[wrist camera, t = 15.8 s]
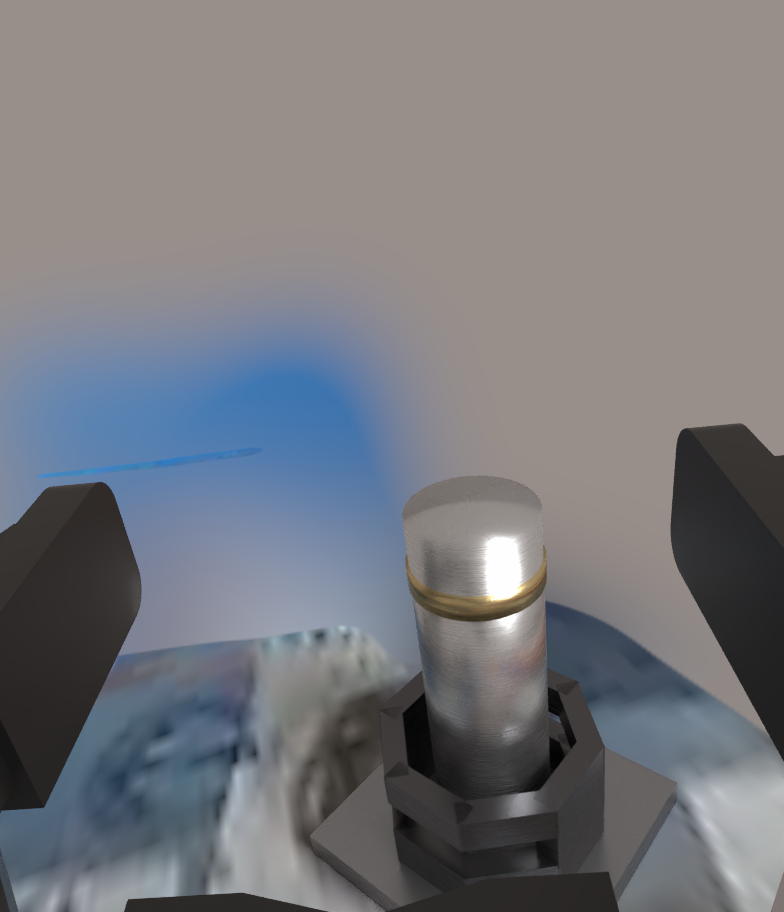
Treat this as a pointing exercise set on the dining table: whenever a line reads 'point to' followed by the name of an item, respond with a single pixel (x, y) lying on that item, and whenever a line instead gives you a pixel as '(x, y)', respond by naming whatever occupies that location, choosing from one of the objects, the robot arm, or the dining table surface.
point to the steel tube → (481, 633)
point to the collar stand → (492, 811)
